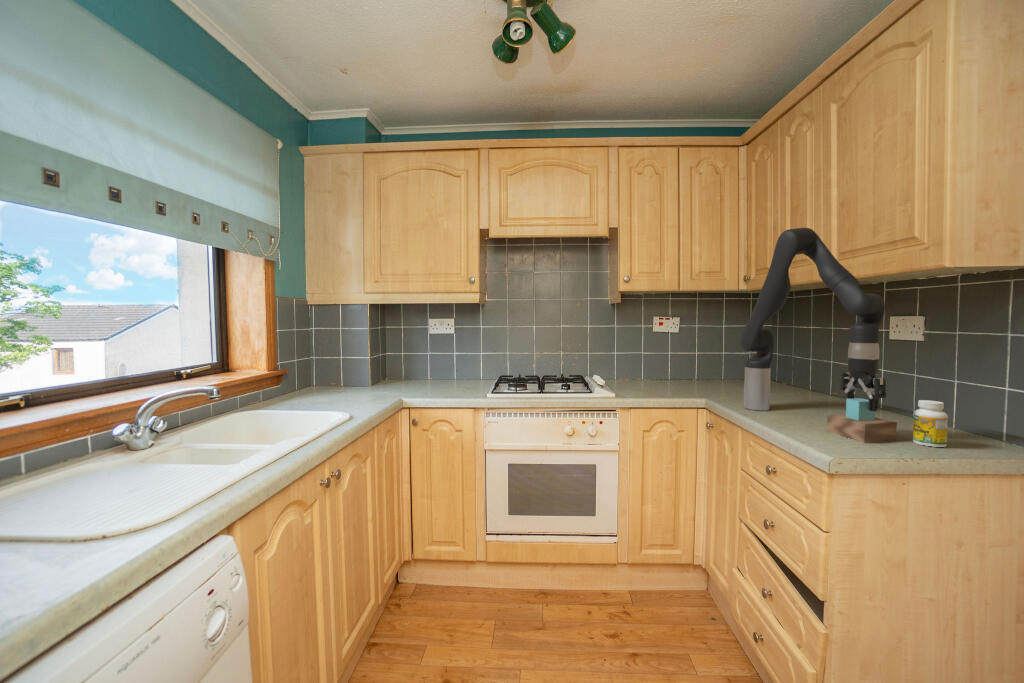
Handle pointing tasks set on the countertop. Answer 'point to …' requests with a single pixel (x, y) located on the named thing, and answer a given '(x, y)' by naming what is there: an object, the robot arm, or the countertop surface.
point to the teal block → (859, 410)
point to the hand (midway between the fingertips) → (861, 407)
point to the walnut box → (862, 429)
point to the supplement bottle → (930, 424)
